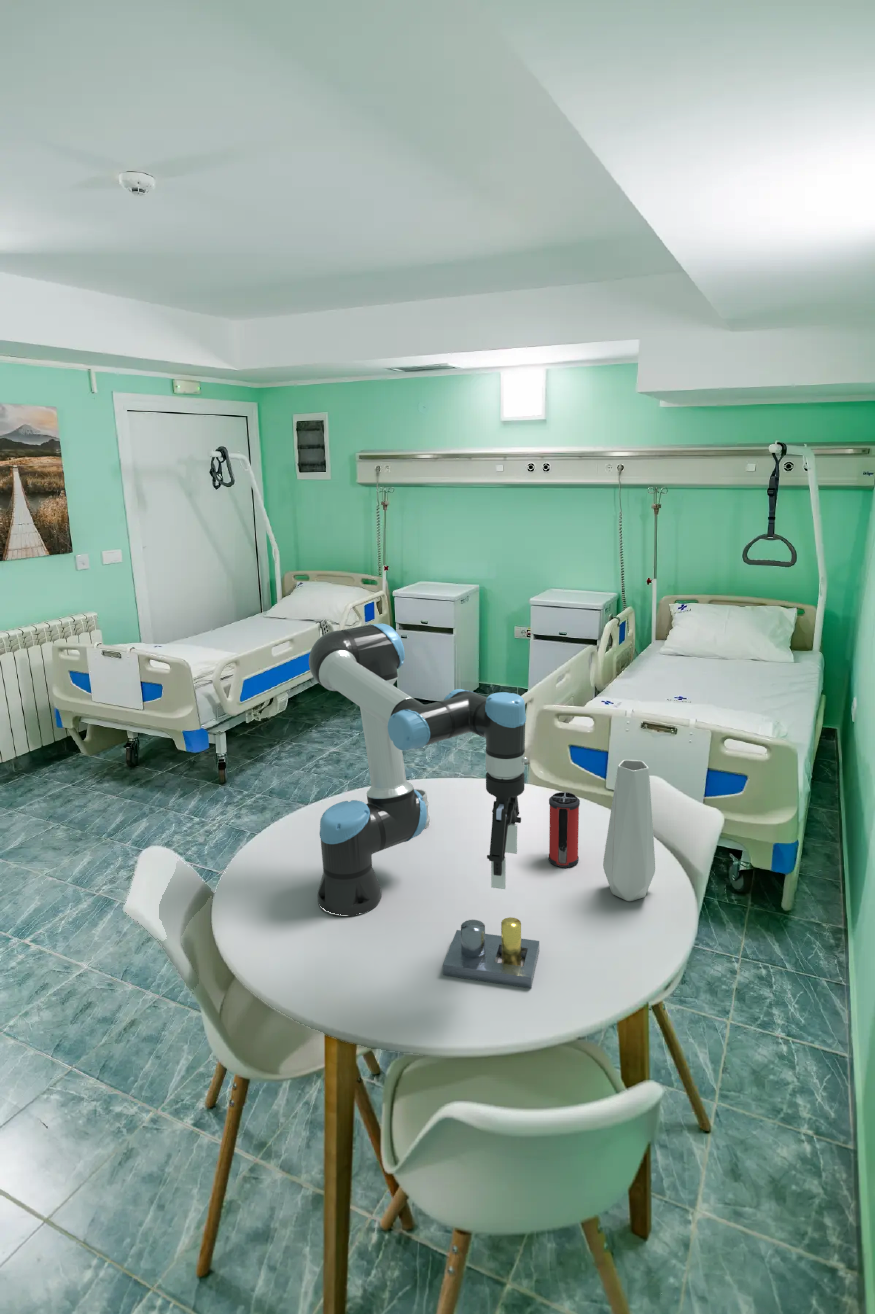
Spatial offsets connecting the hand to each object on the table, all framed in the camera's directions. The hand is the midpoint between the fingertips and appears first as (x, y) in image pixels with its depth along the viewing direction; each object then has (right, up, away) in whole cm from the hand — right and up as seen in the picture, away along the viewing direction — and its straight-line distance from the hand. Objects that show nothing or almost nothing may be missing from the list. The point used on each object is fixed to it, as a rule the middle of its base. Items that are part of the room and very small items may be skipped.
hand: (504, 869), depth 152 cm
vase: (+32, -14, +29) cm, 45 cm away
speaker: (+19, -10, +44) cm, 49 cm away
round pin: (+2, -21, +4) cm, 21 cm away
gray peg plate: (-2, -21, +5) cm, 22 cm away
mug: (-21, -6, +66) cm, 70 cm away
